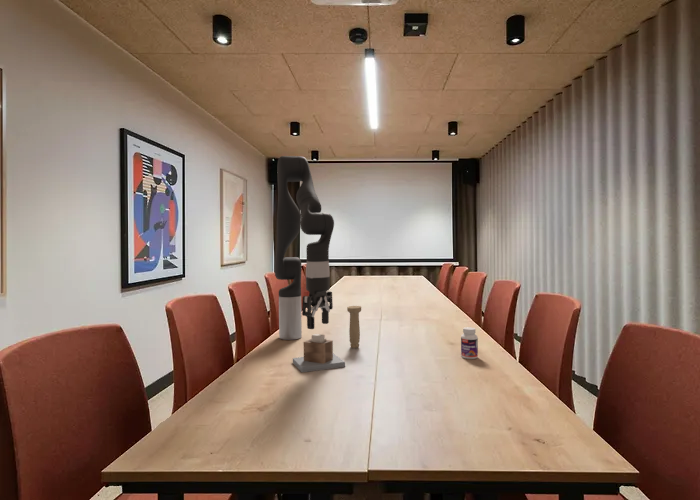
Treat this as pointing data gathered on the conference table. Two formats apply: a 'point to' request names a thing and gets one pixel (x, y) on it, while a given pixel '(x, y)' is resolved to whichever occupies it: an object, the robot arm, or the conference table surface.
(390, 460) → the conference table surface
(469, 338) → the pill bottle
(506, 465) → the conference table surface
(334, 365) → the base
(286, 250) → the robot arm
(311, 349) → the open cubby box
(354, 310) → the handle
